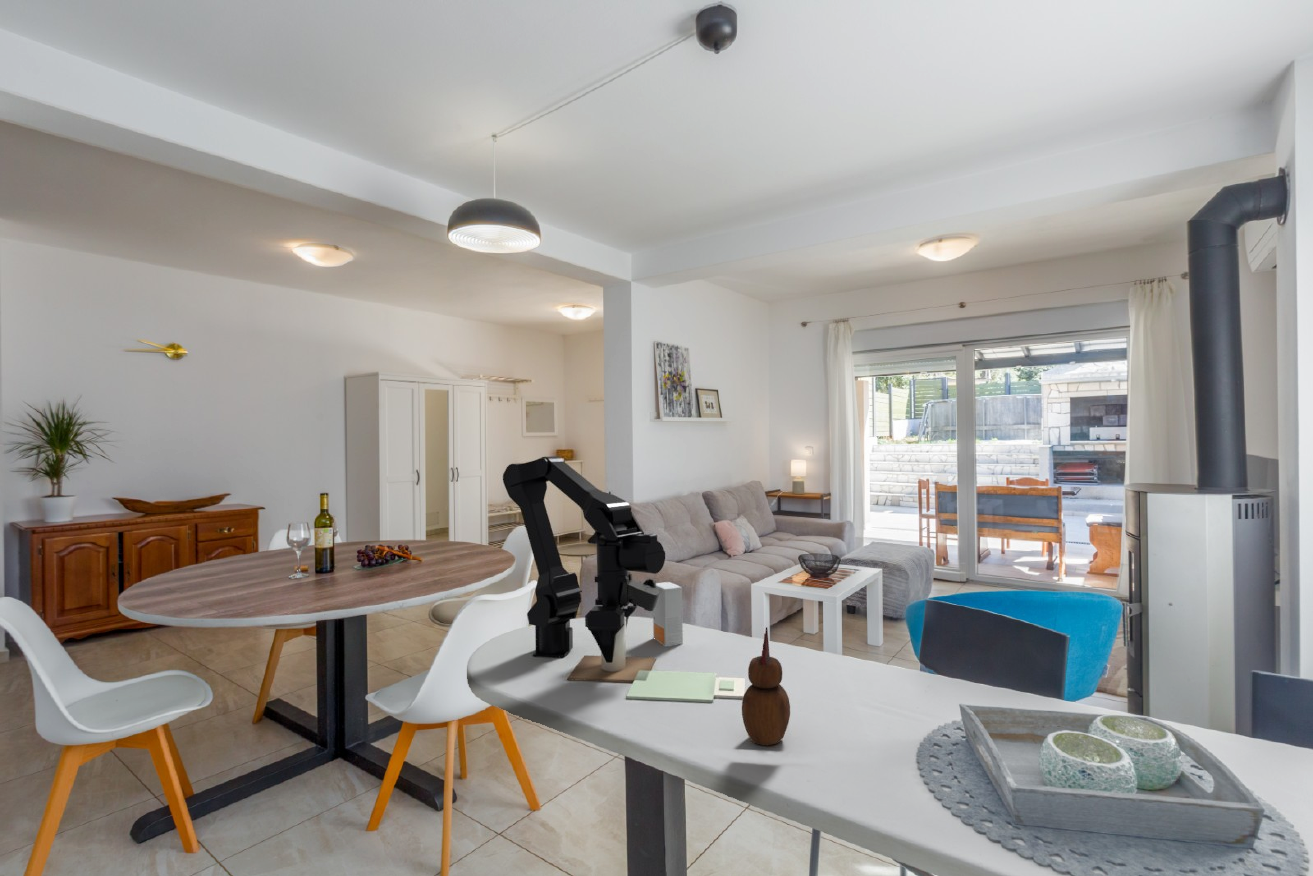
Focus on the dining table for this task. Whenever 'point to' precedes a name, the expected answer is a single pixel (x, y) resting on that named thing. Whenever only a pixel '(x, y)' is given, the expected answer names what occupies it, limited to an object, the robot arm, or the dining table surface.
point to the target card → (729, 688)
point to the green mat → (674, 686)
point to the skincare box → (668, 615)
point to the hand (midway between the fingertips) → (615, 654)
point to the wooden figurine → (765, 700)
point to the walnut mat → (592, 671)
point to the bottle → (617, 652)
